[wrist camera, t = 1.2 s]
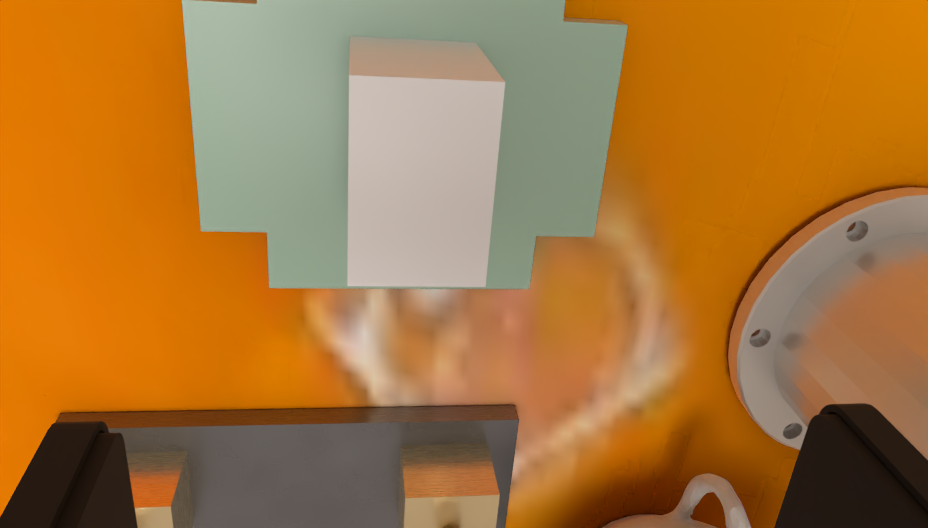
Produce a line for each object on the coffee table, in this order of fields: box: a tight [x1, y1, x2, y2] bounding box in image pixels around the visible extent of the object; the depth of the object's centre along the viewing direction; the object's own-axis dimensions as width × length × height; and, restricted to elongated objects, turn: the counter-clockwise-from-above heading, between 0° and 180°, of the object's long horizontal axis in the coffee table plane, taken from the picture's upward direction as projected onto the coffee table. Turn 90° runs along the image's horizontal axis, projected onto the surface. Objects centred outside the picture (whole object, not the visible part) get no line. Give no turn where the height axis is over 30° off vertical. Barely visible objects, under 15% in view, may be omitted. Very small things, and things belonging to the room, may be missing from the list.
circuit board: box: [182, 0, 628, 289], centre depth 24 cm, size 14×12×6 cm
